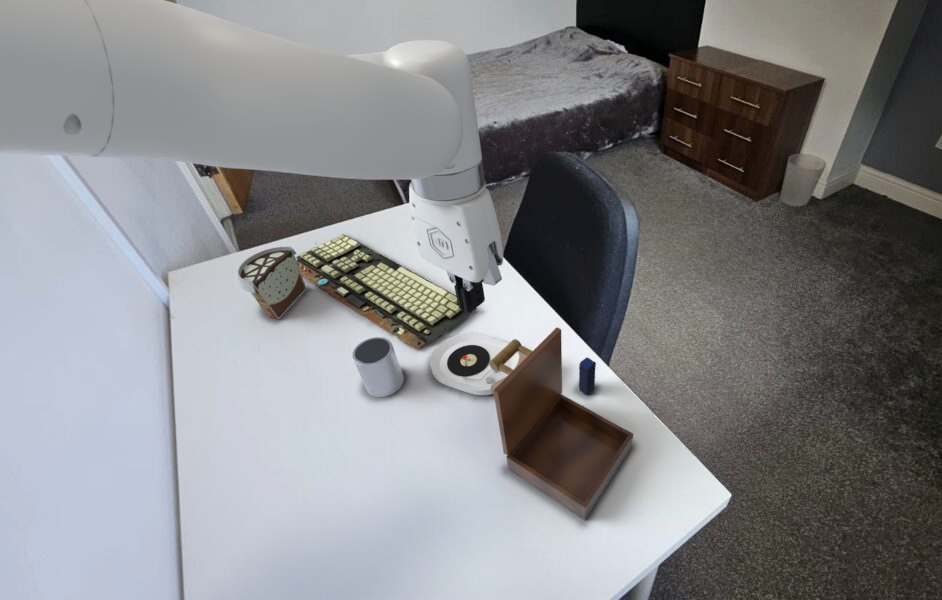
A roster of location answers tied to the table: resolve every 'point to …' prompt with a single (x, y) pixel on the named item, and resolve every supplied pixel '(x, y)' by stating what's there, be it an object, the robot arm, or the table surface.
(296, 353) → the table surface
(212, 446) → the table surface
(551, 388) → the lid
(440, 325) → the keyboard
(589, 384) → the eraser
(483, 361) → the record player
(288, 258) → the food container
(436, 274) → the table surface
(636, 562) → the table surface
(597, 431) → the storage box
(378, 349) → the steel cup
